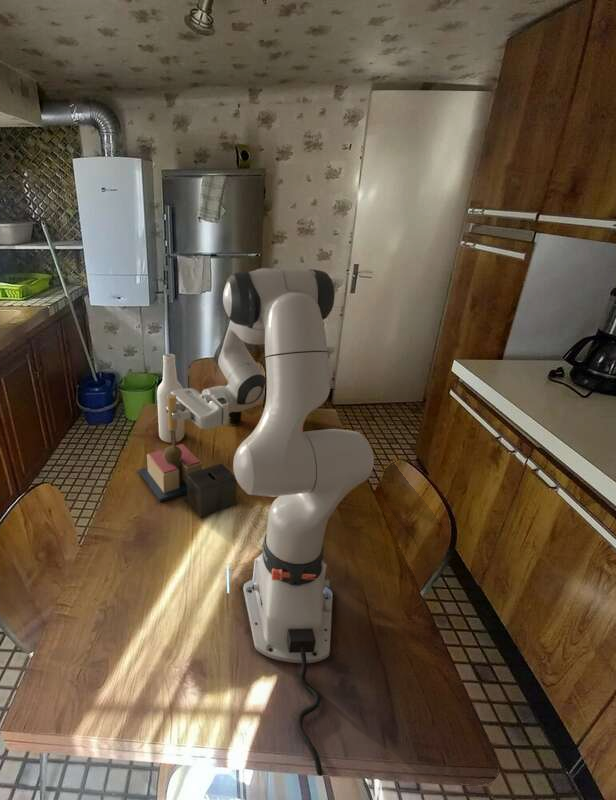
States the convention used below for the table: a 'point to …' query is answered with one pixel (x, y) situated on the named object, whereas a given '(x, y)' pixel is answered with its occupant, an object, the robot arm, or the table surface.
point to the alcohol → (163, 391)
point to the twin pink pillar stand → (169, 473)
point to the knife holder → (211, 490)
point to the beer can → (234, 418)
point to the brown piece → (174, 458)
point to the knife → (171, 421)
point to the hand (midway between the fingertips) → (169, 413)
